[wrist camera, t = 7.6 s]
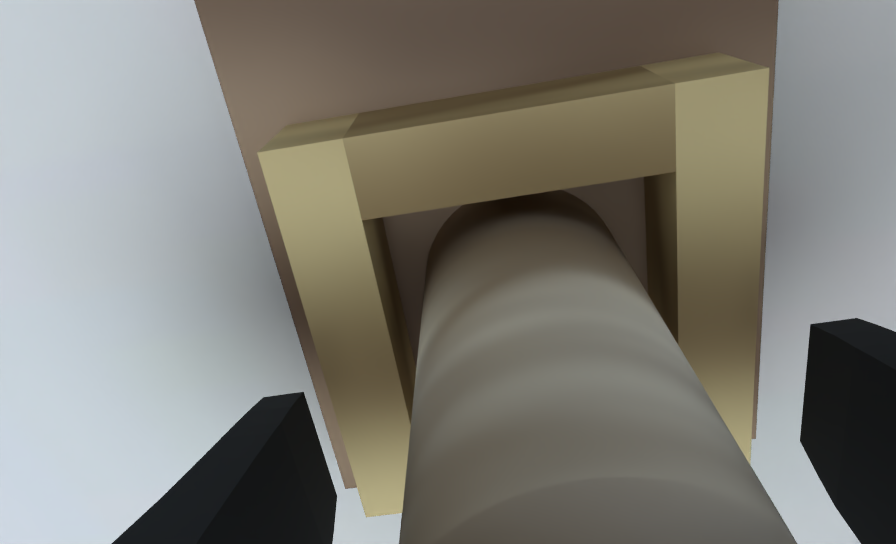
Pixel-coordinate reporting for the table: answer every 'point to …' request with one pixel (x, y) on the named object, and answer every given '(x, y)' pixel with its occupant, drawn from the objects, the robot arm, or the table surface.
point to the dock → (498, 172)
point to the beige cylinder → (562, 397)
